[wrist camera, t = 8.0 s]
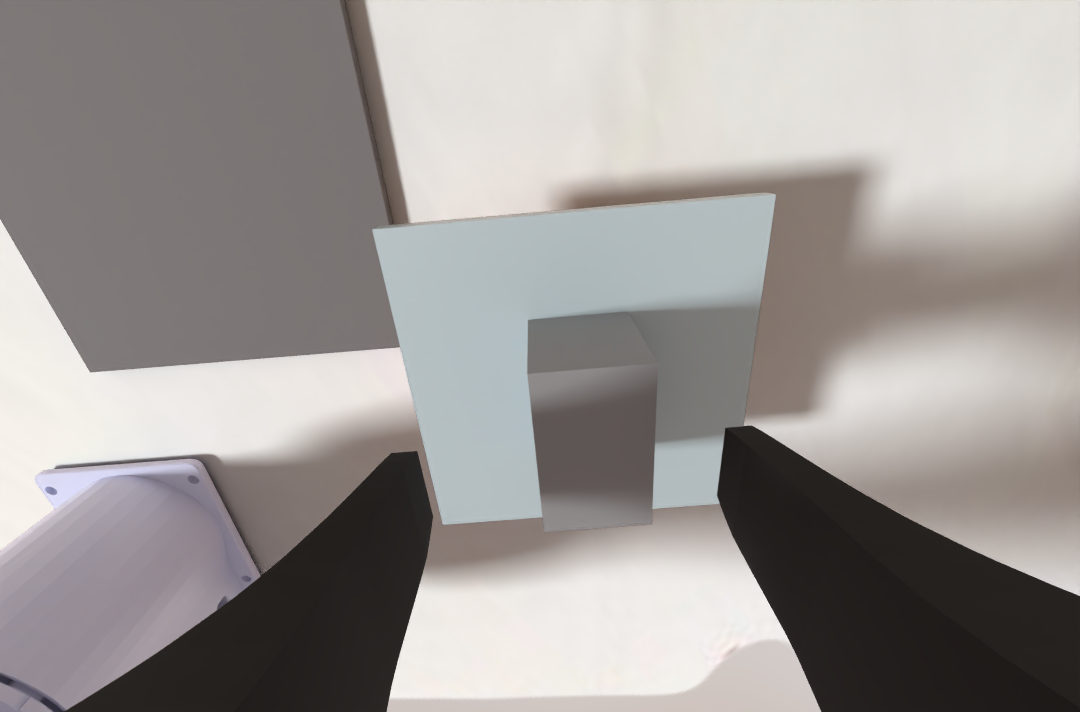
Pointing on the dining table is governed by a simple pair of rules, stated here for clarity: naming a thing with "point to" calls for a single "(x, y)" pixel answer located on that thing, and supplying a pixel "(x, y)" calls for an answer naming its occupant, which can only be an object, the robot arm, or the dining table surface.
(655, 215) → the cover
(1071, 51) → the dining table surface
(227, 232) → the mat
